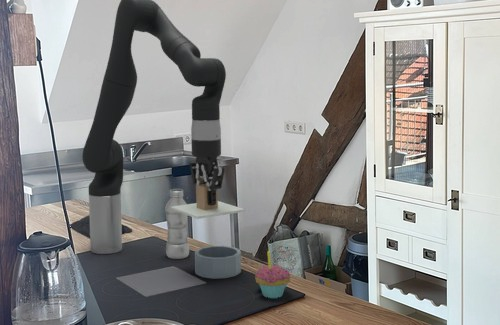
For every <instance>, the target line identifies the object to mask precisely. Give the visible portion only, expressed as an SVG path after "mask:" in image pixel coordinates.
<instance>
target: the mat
mask: <svg viewBox="0 0 500 325" xmlns="http://www.w3.org/2000/svg"><path fill="white" fill-rule="evenodd" d="M115 279H117V280H118V281H119V282H121V283H123V284H124V285H126V286H128V288H131V289H132V290H134V291H135V292H137V293H139V294H140V295H142V296H144V297H146V298H147V297H152V296H156V295H160V294H164V293H165V294H166V293H169V292H174V291H177V290H178V291H179V290H184V289H188V288H191V287H195V286H200V285H204V284H207V282H206V281H204V280H202V279H200V278H198V277H197V276H194V275H192V274H190V273H188V272H187V271H185V270H183V269H181V268H179V267H176V266H174V265H172V266H169V267H168V266H167V267H162V268H157V269H151V270H147V271H142V272H138V273H132V274H128V275H127V274H126V275H123V276H118V277H115Z"/></svg>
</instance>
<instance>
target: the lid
mask: <svg viewBox="0 0 500 325" xmlns="http://www.w3.org/2000/svg"><path fill="white" fill-rule="evenodd" d="M195 189H196V190H195V191H196V193H195V194H196V197H195V198H196V199H195V201H196V202H195V203H194V202H193V203H186V205H179V206H172V207H170V209H172V210H174V211H177V212H180V213H183V214H185V215H188V217H191V218H194V219H196V220H199V219H205V218H212V217H219V216H224V215H231V214H239V213H245V212H246V211H245V210H246V209H245V208H242V207H238V206H235V205H233V204H229V203H226V202H223V201H220V200H219V199H218V196H219V193H218V190H219V189H218V190H216V205H211V206H210V205H208V202H207V191H208V190H207V184H199V185H195Z"/></svg>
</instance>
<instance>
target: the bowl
mask: <svg viewBox="0 0 500 325" xmlns="http://www.w3.org/2000/svg"><path fill="white" fill-rule="evenodd" d="M241 264H242V252H241V250H240V248H236V247H234V246H228V245H208V246H202V247H200V248H198V249H196V250H194V271H195V272H194V273H195V275H197V276H199V277H200V278H206V279H214V280H215V279H227V278H228V279H229V278H232V277H235V276H236V277H237V276H238V275H239V274H241V273H242V265H241Z"/></svg>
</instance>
